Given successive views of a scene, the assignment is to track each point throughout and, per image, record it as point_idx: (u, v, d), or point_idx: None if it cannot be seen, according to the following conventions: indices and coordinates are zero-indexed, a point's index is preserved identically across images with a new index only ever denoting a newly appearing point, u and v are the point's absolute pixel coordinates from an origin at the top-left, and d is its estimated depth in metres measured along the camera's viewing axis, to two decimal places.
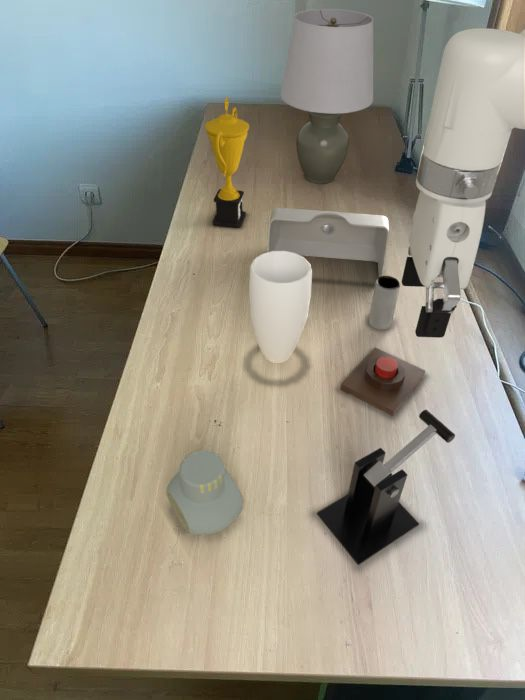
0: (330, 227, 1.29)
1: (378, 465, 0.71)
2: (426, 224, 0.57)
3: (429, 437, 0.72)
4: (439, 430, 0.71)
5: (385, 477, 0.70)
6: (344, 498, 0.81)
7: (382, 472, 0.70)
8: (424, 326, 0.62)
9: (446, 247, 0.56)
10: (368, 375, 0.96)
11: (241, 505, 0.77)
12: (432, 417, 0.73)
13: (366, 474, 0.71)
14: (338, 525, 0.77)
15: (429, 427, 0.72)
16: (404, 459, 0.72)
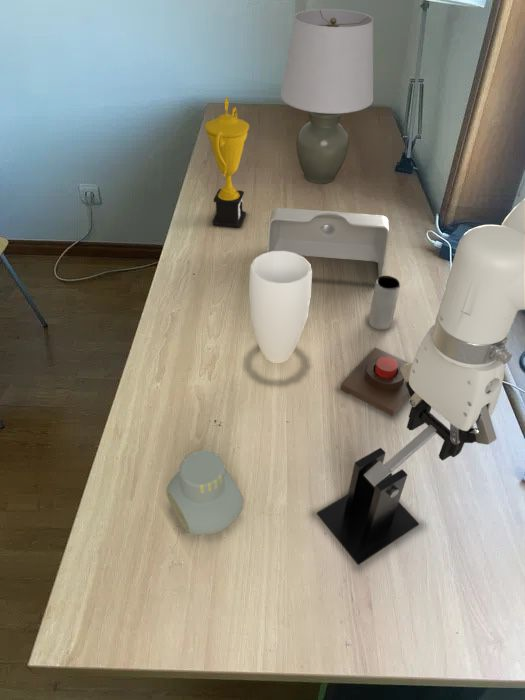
0: (330, 227, 1.29)
1: (378, 465, 0.71)
2: (456, 384, 0.63)
3: (429, 437, 0.72)
4: (439, 430, 0.71)
5: (385, 477, 0.70)
6: (344, 498, 0.81)
7: (382, 472, 0.70)
8: (448, 451, 0.71)
9: (484, 400, 0.63)
10: (368, 375, 0.96)
11: (241, 505, 0.77)
12: (432, 417, 0.73)
13: (366, 474, 0.71)
14: (338, 525, 0.77)
15: (429, 427, 0.72)
16: (404, 459, 0.72)
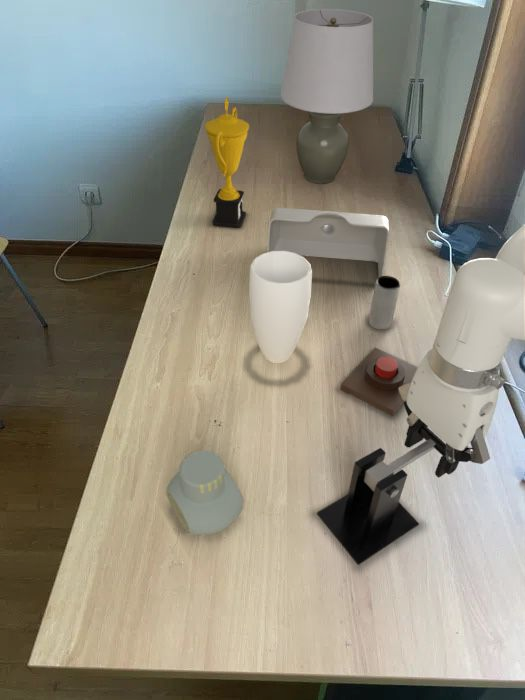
0: (330, 227, 1.29)
1: (381, 464, 0.72)
2: (452, 406, 0.66)
3: (428, 450, 0.74)
4: (439, 444, 0.74)
5: (388, 476, 0.70)
6: (344, 498, 0.81)
7: (385, 471, 0.71)
8: (444, 469, 0.74)
9: (478, 422, 0.66)
10: (368, 375, 0.96)
11: (241, 505, 0.77)
12: (432, 433, 0.76)
13: (369, 470, 0.71)
14: (338, 525, 0.77)
15: (429, 440, 0.75)
16: (404, 466, 0.73)
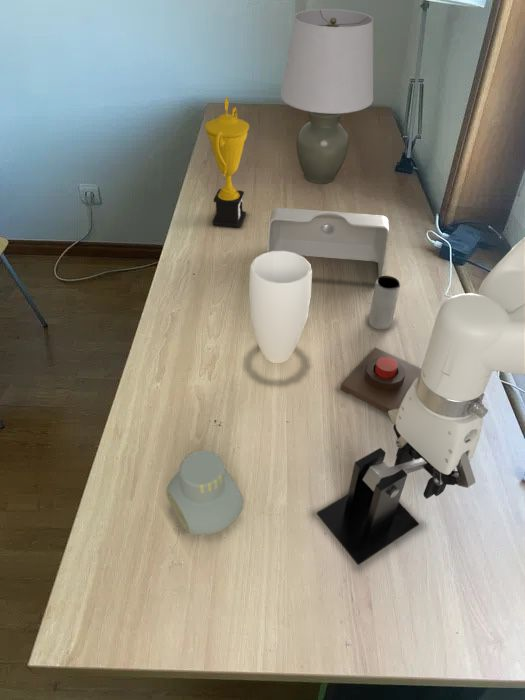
0: (330, 227, 1.29)
1: (383, 465, 0.72)
2: (438, 433, 0.69)
3: (420, 467, 0.76)
4: (430, 464, 0.77)
5: (390, 475, 0.71)
6: (344, 498, 0.81)
7: (387, 471, 0.71)
8: (432, 491, 0.76)
9: (463, 448, 0.68)
10: (368, 375, 0.96)
11: (241, 505, 0.77)
12: None
13: (373, 466, 0.71)
14: (338, 525, 0.77)
15: (421, 459, 0.77)
16: None
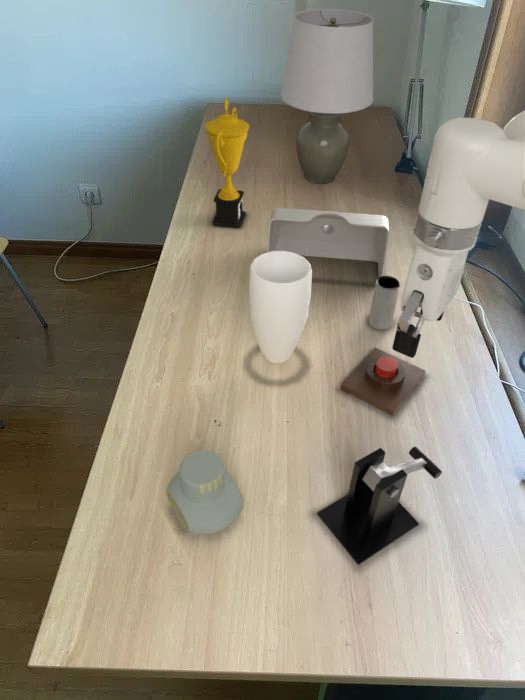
0: (330, 227, 1.29)
1: (383, 465, 0.72)
2: None
3: (420, 467, 0.76)
4: (430, 464, 0.77)
5: (390, 475, 0.71)
6: (344, 498, 0.81)
7: (387, 471, 0.71)
8: None
9: (415, 281, 0.69)
10: (368, 375, 0.96)
11: (241, 505, 0.77)
12: None
13: (373, 466, 0.71)
14: (338, 525, 0.77)
15: (421, 459, 0.77)
16: None
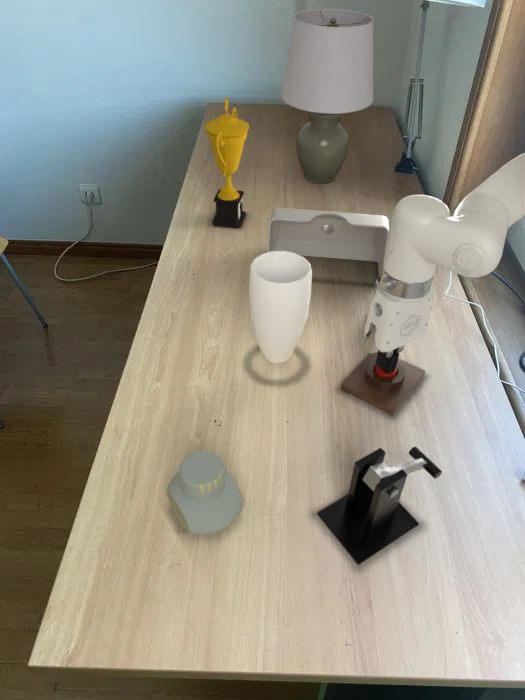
0: (330, 227, 1.29)
1: (383, 465, 0.72)
2: None
3: (420, 467, 0.76)
4: (430, 464, 0.77)
5: (390, 475, 0.71)
6: (344, 498, 0.81)
7: (387, 471, 0.71)
8: None
9: (372, 315, 0.86)
10: (368, 375, 0.96)
11: (241, 505, 0.77)
12: None
13: (373, 466, 0.71)
14: (338, 525, 0.77)
15: (421, 459, 0.77)
16: None
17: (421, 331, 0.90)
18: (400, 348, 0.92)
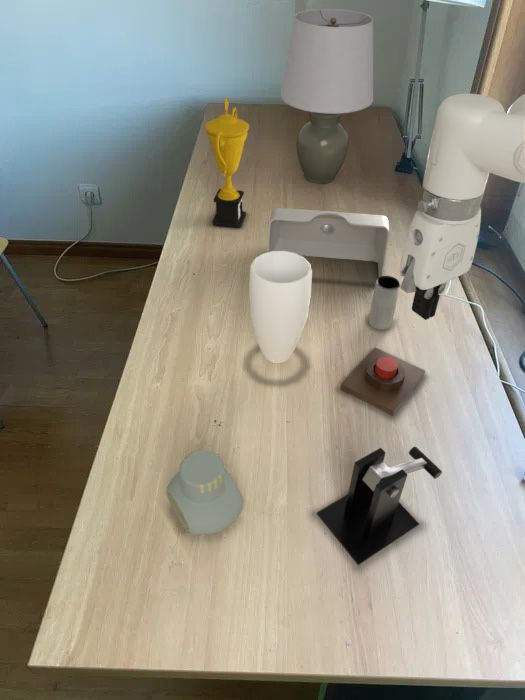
0: (330, 227, 1.29)
1: (383, 465, 0.72)
2: None
3: (420, 467, 0.76)
4: (430, 464, 0.77)
5: (390, 475, 0.71)
6: (344, 498, 0.81)
7: (387, 471, 0.71)
8: None
9: (409, 246, 0.74)
10: (368, 375, 0.96)
11: (241, 505, 0.77)
12: None
13: (373, 466, 0.71)
14: (338, 525, 0.77)
15: (421, 459, 0.77)
16: None
17: (466, 266, 0.78)
18: (441, 288, 0.80)
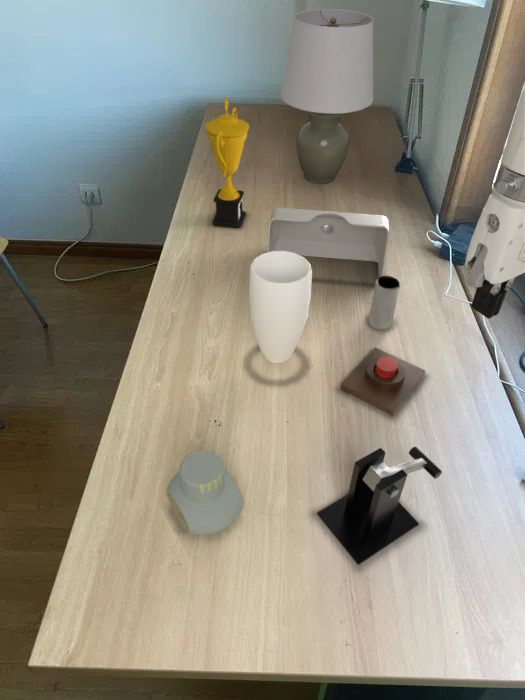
0: (330, 227, 1.29)
1: (383, 465, 0.72)
2: None
3: (420, 467, 0.76)
4: (430, 464, 0.77)
5: (390, 475, 0.71)
6: (344, 498, 0.81)
7: (387, 471, 0.71)
8: None
9: (481, 233, 0.64)
10: (368, 375, 0.96)
11: (241, 505, 0.77)
12: None
13: (373, 466, 0.71)
14: (338, 525, 0.77)
15: (421, 459, 0.77)
16: None
17: None
18: (508, 283, 0.71)
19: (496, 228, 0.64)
